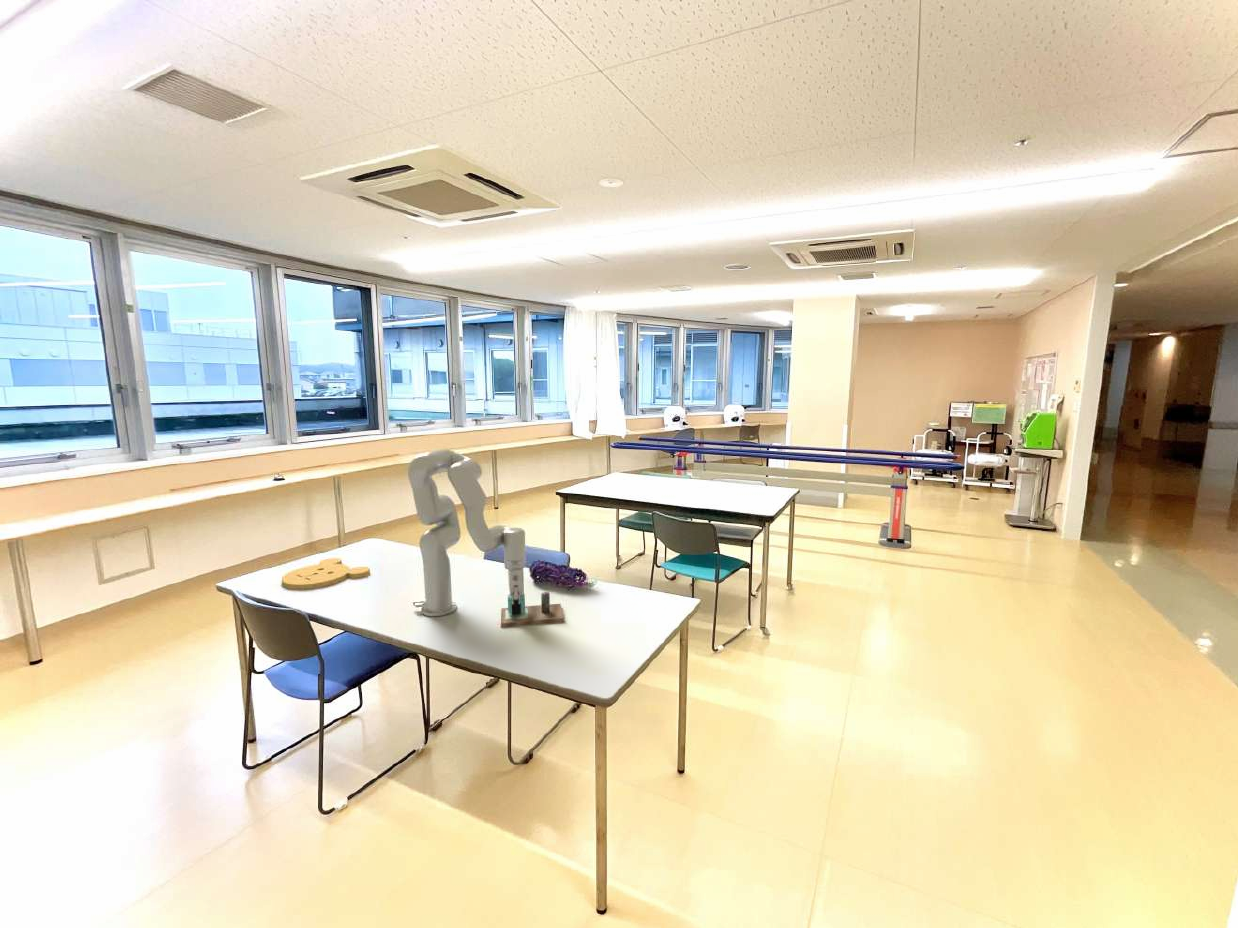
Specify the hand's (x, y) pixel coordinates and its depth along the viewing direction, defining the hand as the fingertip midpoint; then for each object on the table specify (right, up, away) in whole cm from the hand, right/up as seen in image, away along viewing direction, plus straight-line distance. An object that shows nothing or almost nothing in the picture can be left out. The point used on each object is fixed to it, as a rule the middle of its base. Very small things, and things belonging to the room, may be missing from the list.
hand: (516, 609), depth 194 cm
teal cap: (0, 0, 0) cm, 0 cm away
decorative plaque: (-94, +3, +41) cm, 102 cm away
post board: (+5, -3, +2) cm, 6 cm away
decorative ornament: (+14, +1, +32) cm, 35 cm away
